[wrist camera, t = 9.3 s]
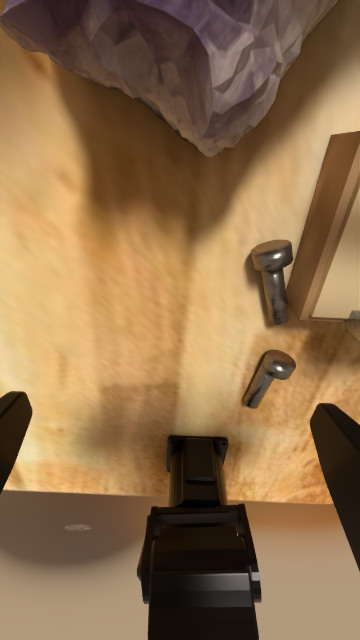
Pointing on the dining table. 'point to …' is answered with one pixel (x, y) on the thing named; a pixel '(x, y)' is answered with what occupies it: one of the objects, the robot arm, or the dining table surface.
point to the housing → (354, 324)
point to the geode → (176, 54)
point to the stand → (331, 239)
